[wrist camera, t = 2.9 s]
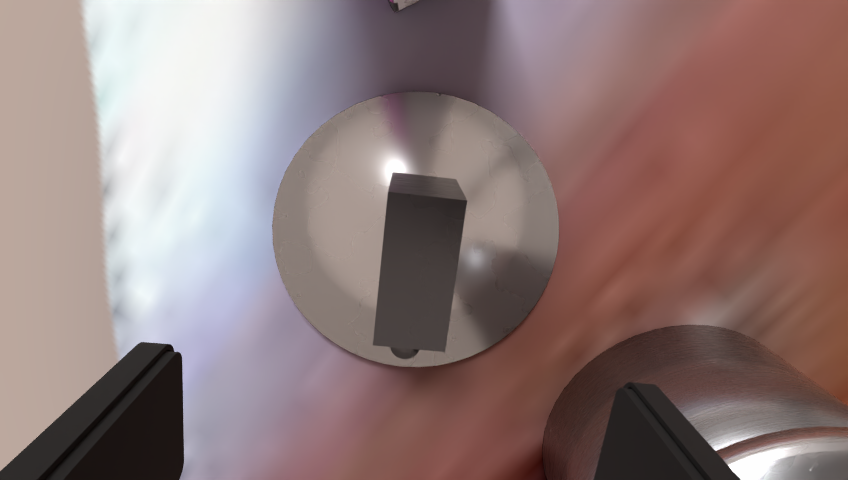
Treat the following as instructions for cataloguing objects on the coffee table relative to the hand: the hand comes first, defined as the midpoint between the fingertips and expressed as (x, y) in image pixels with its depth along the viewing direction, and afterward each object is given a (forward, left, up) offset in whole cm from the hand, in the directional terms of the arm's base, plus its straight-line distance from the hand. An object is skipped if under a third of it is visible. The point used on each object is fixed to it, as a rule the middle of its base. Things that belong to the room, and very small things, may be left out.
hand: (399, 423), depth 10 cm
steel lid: (0, 0, -14) cm, 14 cm away
